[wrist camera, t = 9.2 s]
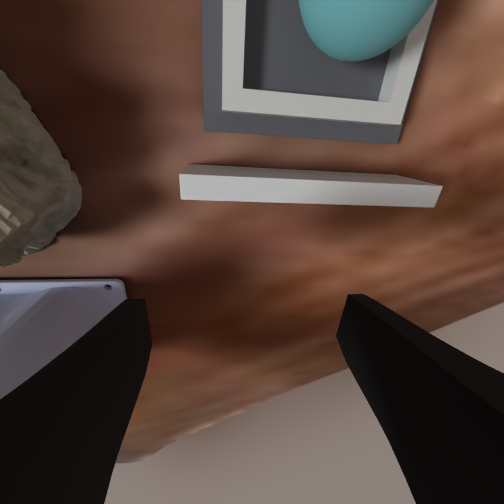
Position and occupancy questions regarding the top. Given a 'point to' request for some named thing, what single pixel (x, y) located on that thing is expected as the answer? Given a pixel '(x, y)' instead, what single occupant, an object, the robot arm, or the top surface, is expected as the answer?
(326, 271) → the top surface
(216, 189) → the wall
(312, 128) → the mat
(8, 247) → the jagged rock
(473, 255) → the top surface
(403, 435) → the robot arm
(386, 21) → the ball
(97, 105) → the top surface
